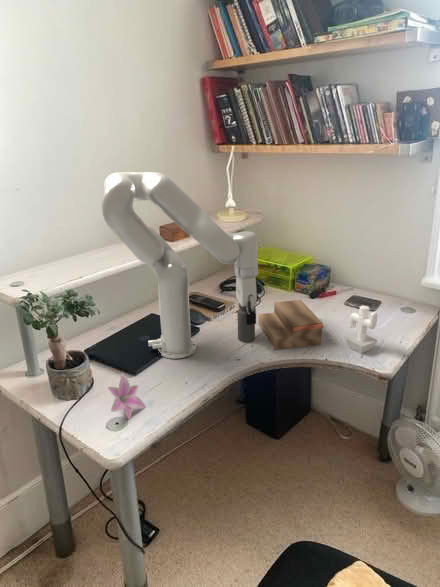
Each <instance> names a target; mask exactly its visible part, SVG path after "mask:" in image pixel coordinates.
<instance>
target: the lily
mask: <svg viewBox="0 0 440 587" xmlns="http://www.w3.org/2000/svg"><path fill="white" fill-rule="evenodd" d="M138 389H139V385H138V384H135V385H130V382H129V380H128V379H127V377H126V375H125V374H124V373H123V372H121V374H120V379H119V384H118V387H117V386H108V387H107V390H108V391H109V392H110V393H111V395H112V396H113V397H114V401H113V403H112V406H111V408H110V412H113V413H114V412H119V411H122V410H123V412H124V413H125V415H126V417H127V419H128V420H130V421H131V419H132V418H131V417H132V412H133V409H145V408H146V405H145V403H144V402H143V400H142V399H141V398H140V397H139V396H138V395H137V392H138Z"/></svg>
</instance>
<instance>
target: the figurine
mask: <svg viewBox="0 0 440 587" xmlns="http://www.w3.org/2000/svg"><path fill="white" fill-rule="evenodd" d="M369 313H370V307H369V306H367V305H360V306H359V311H358V313H357V312H352V313H351V314H350V318H349V328H350V329H355V328H357V333H354V334H352V335H348V336H346V337H344V339H345V341H346V342H347V345H348V346H349V348H350V350H353V351H355V352H357V353H358V354H360V355H361V354H364V353H367V352H368V351H371V349H372V348H373V347H374V346H375V345H376V343H377V342H378V341H379V340H378V339H376V338H374V337H372V336H369V335H368V334H367V330H368V329H371V330H374V329H375V328H376V326H377V322H378V313H377V312H375V311H373V312H371V313H370V318H369ZM356 326H357V327H356Z"/></svg>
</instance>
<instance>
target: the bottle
mask: <svg viewBox="0 0 440 587" xmlns="http://www.w3.org/2000/svg"><path fill="white" fill-rule="evenodd" d="M247 304H250V303H247ZM239 307H240V309H239ZM248 308H249V309H250V308H251V307H248ZM246 313H247V310H246V306H244V307H242V306H241V305H240V303H239V302H238V309H237V340H238V341H239V342H241V343H248V344H249V343H252V342H254V341H255V339H256V324H251V325H247V324H246Z"/></svg>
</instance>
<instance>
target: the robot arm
mask: <svg viewBox="0 0 440 587" xmlns="http://www.w3.org/2000/svg"><path fill="white" fill-rule="evenodd" d="M103 192H104V193H103V196H102V197H103V198H102V201H101V202H102V203H101V212H102V216H103V219H104V221H105V223H106V225H107V226H108V227H109V229H110V230H111V231H112V232H113V233H114V235H115V236H116V237H118V239H119V240H120V241H121V243H123V244H124V246H126V247H127V248H128V250H129V251H130V252H131V253H132V254H133V255H134V256H135V258H136V259H137V260H138V261H140V262H142V263H144V264H146V265H147V266H148V267H149V269H151V270H152V272H154V275H155V276H156V280H157V286H158V288H157V294H158V309H159V317H160V320H159V321H160V329H161V330H160V331H161V335H160V338H159V337H158V338H157V339H151V340H149V339H148V340H147V341H148V343H147V344H148V347H151V348H152V349H157V350H158V351H159V352H160V353H161V355H160V356H162V357H164V358H167V359H173V360H175V359H183V358H187V357H190V356H191V355H193V354H195V352H196V351H197V344H196V342H195V341H194V340H192V330H191V329H192V328H191V315H190V313H191V312H190V311H191V310H190V294H189V292H190V291H189V290H190V273H189V270H188V267H187V266H186V265H187V264H185V263H184V261H183V260H182V259H181V257H180V255H179V253H177V252H176V251H175V250H174V249H173V248H172V247H171V245H169V243H168V242H167V241H166V240H165V239H164V238H163V237H162V236H161V235H160V234H159V233H158V231H156V229H154V228H153V227H151V226H148V225H147V224H146V223H145V222H144V221H143V219H142V218H141V217H140V216H139V215H138V214H137V212H135V210H134V207H133V206H134V201H139V202H140V201H150V202H151V203H152V204H153V205H155V207H157V208H158V209H159V210H160V211H162V212H163V214H165V215H166V216H167V217H168V218H169V219H170V220H171V221H172V222H174V223H175V224H176V225H177V226H178V228H179V227H180V229H182V231H184V233H186V234H187V235H189V236H190V237H191V238H193V239H194V240H195V241H196V242H197V243H199V245H201V246H202V247H203V248H204V249H205V250H206V251H207V252H209V254H211V255H212V256H213V257H214V258H216V259H217V260H218V261H219V262H220V263H221V264H226V265H230V264H234V276H235V277H236V278H235V282H236V283H235V294H236V299H237V301H238V304H239V303H240V305H241V306H242V307H244V306H246V310H247V313H246V324H247V325H251V324H255V325H256V324H257V309H256V306H257V294H258V293H257V281H256V279H257V278H256V277H257V276H258V275H259V263H258V262H259V261H258V260H259V256H258V255H259V254H258V252H259V250H258V249H259V247H258V246H259V245H258V236H257V234H256V233H255V232H254V231H248V230H245V231H244V230H243V231H240V232H225V231H224V230H223V228H221V227H220V226H219V225H218V224H217V223H216V222H215V221H214V220H213V219H212V218H211V217H210V216H209V215H208V213H207V212H206V211H205V210H204V209H203V208H202V207H201V206H200V205H199V204H198V203H197V202H196V201H194V200H193V199H192V198H191V196H189V195H188V194H187V193H186V192H185V191H184V190H183V189H182V188H180V186H178V185H177V184H176V183H175V182H174V181H173V180H172V179H171V178H170V177H168V176H167V175H165V174H164V173H162V172H156V171H154V172H152V171H151V172H150V171H149V172H147V171H146V172H144V171H143V172H142V171H141V172H136V171H135V172H134V171H131V172H130V171H129V172H124V171H121V172H120V171H119V172H114V173H111V174H109V175H108V176H107V177H106V179H105V180H104V182H103ZM247 303H250V304H247ZM248 307H251V308H250V309H249V308H248ZM238 309H240V307H239V306H238ZM160 348H161V349H160ZM158 351H157V352H158ZM159 352H158V353H159Z"/></svg>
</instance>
